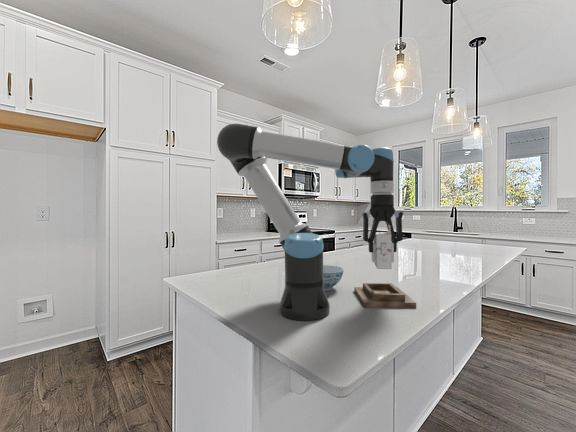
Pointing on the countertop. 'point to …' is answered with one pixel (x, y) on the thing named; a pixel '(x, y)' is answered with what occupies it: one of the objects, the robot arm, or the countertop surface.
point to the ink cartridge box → (383, 249)
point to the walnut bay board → (383, 296)
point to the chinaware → (331, 276)
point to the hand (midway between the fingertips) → (382, 261)
